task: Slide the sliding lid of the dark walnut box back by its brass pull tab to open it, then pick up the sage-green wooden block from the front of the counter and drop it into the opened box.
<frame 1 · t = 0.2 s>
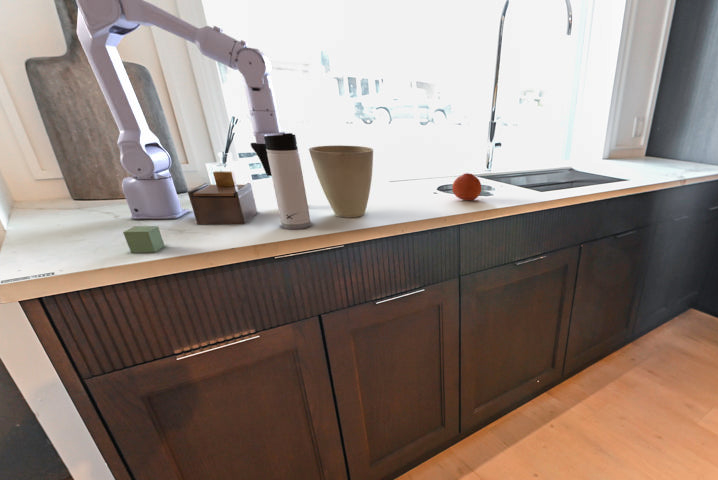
hand: (275, 173, 104), 10 cm above the counter, tool pointing down, fingers open, 7 cm apart
travel mug: (297, 226, 100), on the counter
lid: (219, 183, 100), point 8 cm above the counter, slide at 0.0 cm
plant pot: (350, 215, 112), on the counter
fruit: (466, 200, 133), on the counter
box: (229, 218, 104), on the counter
block: (148, 249, 82), on the counter
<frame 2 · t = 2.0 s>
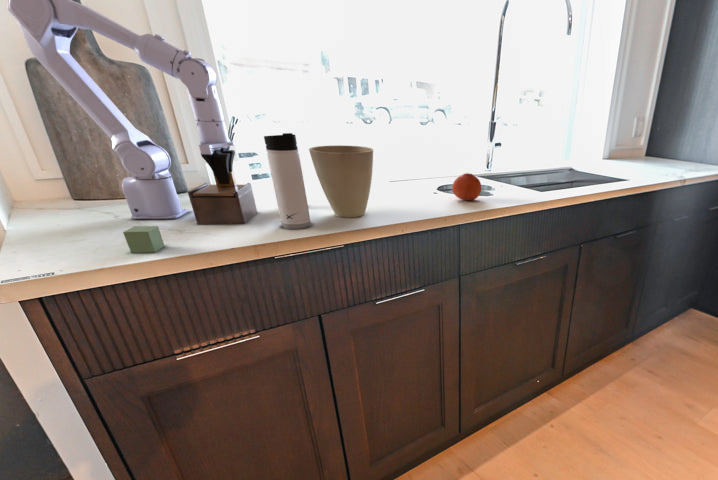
hand: (226, 183, 103), 8 cm above the counter, tool pointing down, fingers closed on lid
lid: (219, 183, 100), point 8 cm above the counter, slide at 0.0 cm, touching gripper
everything else where it was.
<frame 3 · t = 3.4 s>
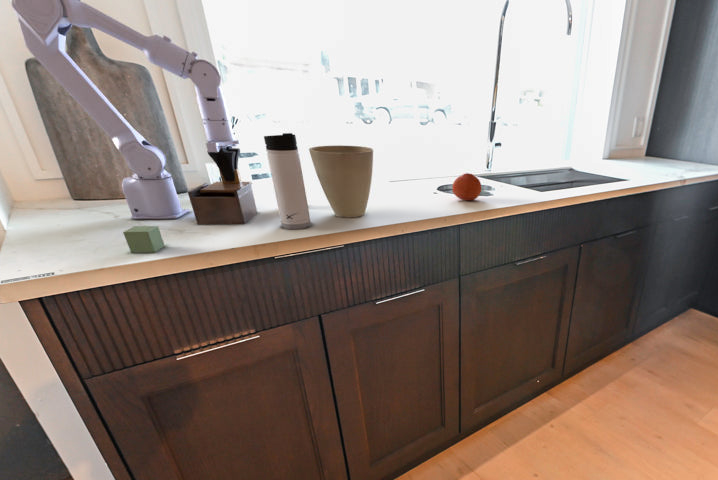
hand: (231, 180, 107), 7 cm above the counter, tool pointing down, fingers closed on lid
lid: (225, 180, 103), point 8 cm above the counter, slide at 4.2 cm, touching gripper
everything else where it was.
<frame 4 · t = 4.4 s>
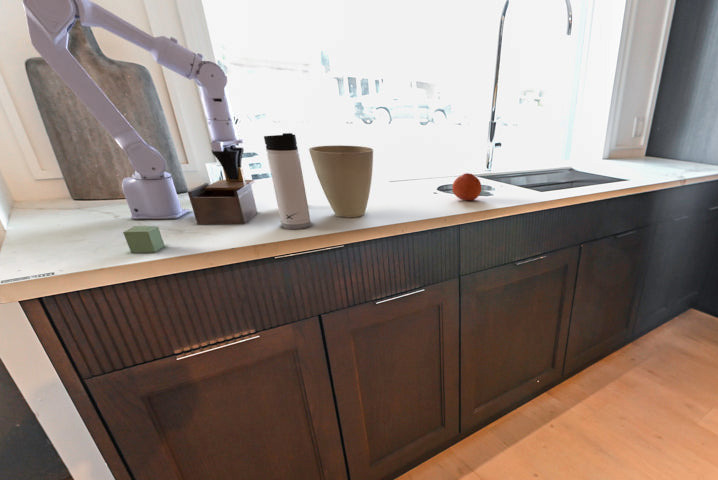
hand: (235, 178, 109), 7 cm above the counter, tool pointing down, fingers closed
lid: (229, 178, 106), point 8 cm above the counter, slide at 7.0 cm
everything else where it was.
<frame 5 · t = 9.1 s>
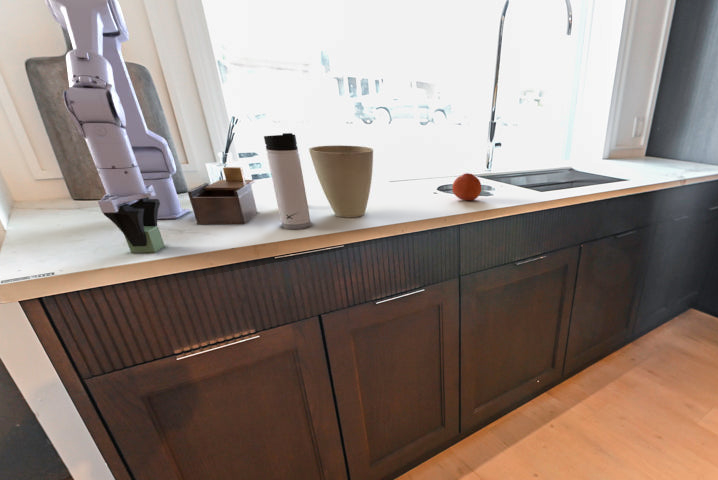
hand: (145, 242, 81), 1 cm above the counter, tool pointing down, fingers closed on block, 4 cm apart
block: (148, 249, 82), on the counter, touching gripper
everything else where it was.
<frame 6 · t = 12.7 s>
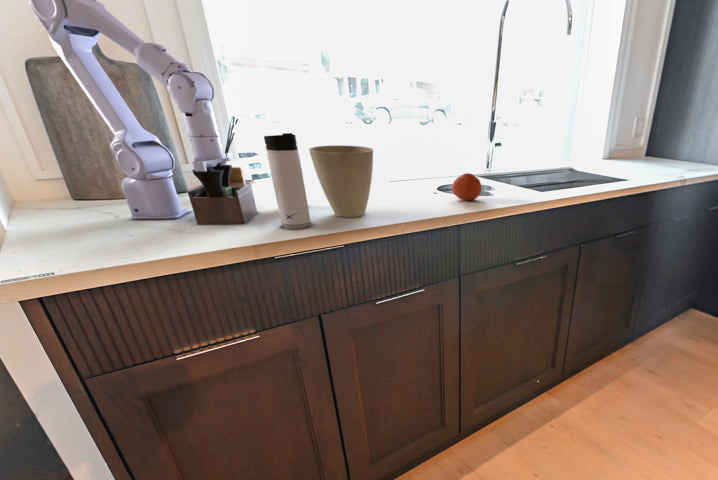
hand: (221, 199, 100), 5 cm above the counter, tool pointing down, fingers closed on block, 4 cm apart
block: (223, 205, 100), point 3 cm above the counter, touching gripper
everything else where it was.
when the fingers open (5 cm above the counter, at t = 17.3 s): block drops 3 cm, resting on box.
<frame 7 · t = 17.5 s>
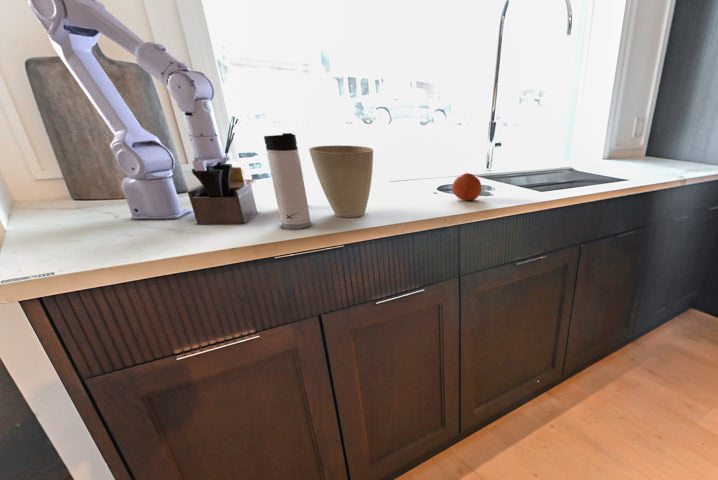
hand: (221, 198, 100), 5 cm above the counter, tool pointing down, fingers open, 4 cm apart
lid: (229, 177, 106), point 8 cm above the counter, slide at 7.3 cm, touching gripper
block: (226, 217, 102), point 1 cm above the counter, touching box
everything else where it was.
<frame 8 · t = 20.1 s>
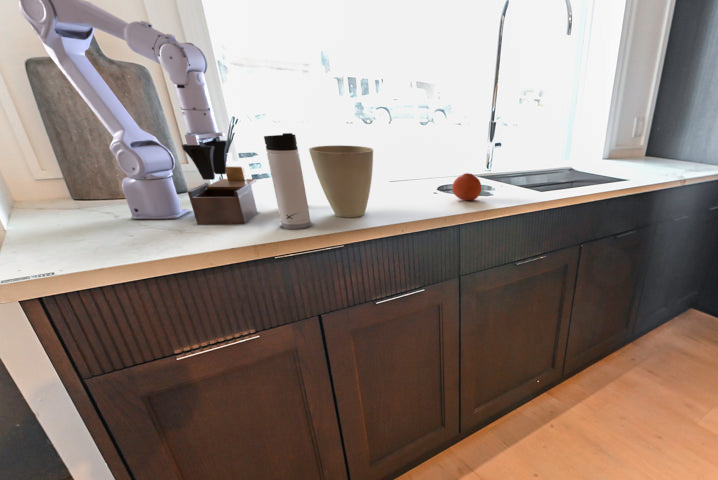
hand: (215, 176, 97), 10 cm above the counter, tool pointing down, fingers open, 7 cm apart
lid: (230, 177, 107), point 8 cm above the counter, slide at 8.2 cm
everything else where it was.
at the end: lid slide at 8.2 cm; block inside the target area on the box (1.7 cm from its centre), point 0.6 cm above the box's base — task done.
